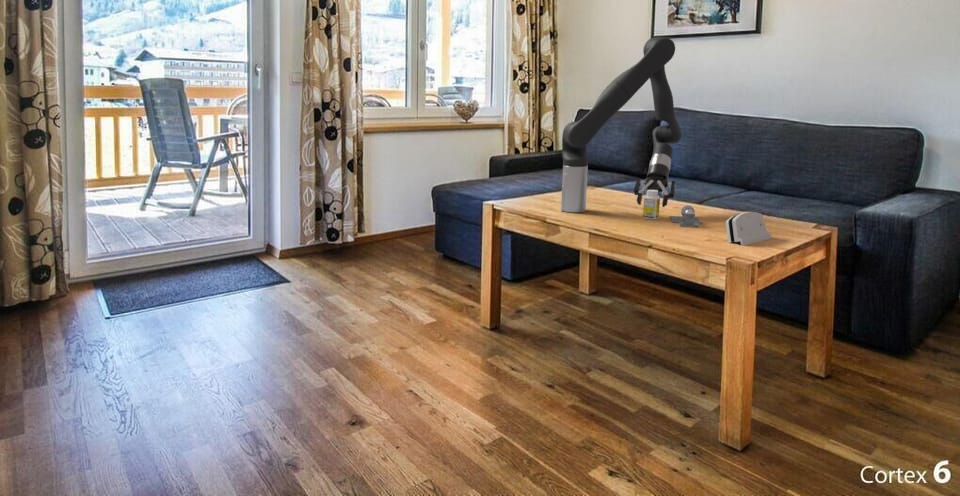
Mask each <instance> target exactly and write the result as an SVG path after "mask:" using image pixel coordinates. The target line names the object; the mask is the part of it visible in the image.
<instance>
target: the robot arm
mask: <svg viewBox="0 0 960 496" xmlns="http://www.w3.org/2000/svg"><path fill="white" fill-rule="evenodd" d="M642 50H643V51H642V52H643V56H642V58H641V59H640V60H639V61H638V62H636V63H635V64H634V65H632V66H631V67H630V68H628V69H626V70H625V71H623V72H622V73H621V74H619V75H618V76H616V77H615V78H614V79H613V80H612V81H611V82H610V83H609V84H608V85H607V86H605V88H604V89H603V90H602V92H601V94H600V95H599V96H598V98H597V99H596V102H595V103H594V105H593V107H592V108H591V109H590V110H589V112H587V113H586V114H585V115H584V116H583V117H582V118H580V120H578V121H570V122H568V123H567V124H566V125H565V126H564V128H563V130H562V131H563V132H562V135H561V136H562V142H561V144H562V145H561V147H562V149H561V157H562V183H561V184H562V185H561V201H560V205H561V207H560V211H561V212H566V213H583V212H586V210H587V209H586V208H587V194H588V193H587V190H588V189H587V188H588V172H589V171H588V169H589V168H588V167H589V158H588V155H587V145H589V143H590V142H591V141H592V139H593V138H594V137H595V136H596V135H597V134H598V132H599V131H600V130H601V129H602V127H603V126H604V125H605V124H606V123H607V122H608V121H609V120H610V119H611V118H612V117H614V116H615V115H616V114H617V113H618V112H619V111H620V110H621V108H623V107H624V106H625V105H626V104H627V103H628V102H629V101H630V99H632V98H633V97H634V95H635V94H636V93H637V92H638V91H639V90H640V89H641V88H642V87H643V85H645V83H647V82H648V80H650V86H651V91H652V97H653V100H652V101H653V108H654V117H655V119H656V120H657V121H662V122H666V123H667V124H668V125H659V126H656V127H654V129H653V130H652V140H653V149H652V150H653V151H652V155H651V159H650V161H649V165H648V170H647V174H646V178H645V180H642V179H641V178H637V179H636V181H635V185H634V188H633V193H634V195H635V196H637V197H636V203H637V204H638V205H639V206H642V205H641V204H642V200H643V197H644V196H645V195H647V190H658V194H659V193H661V194H662V196H663V199H662V203H661V205H662V207H663V208H665V207H666V206H667V205H668V201H669V199H670V198H671V199H674V198H675V194H676V192H675V191H676V181H675V180H672V181H668V178H669V174H670V170H671V165H672V164H671V163H672V157H673V152H674V149H673V147H672V145H673V144H677V143H679V142H680V141H681V139H682V130H681V127H680V125H679V123H678V120H677V118H676V117H677V116H676V114H675V108H674V106H675V105H674V97H673V93H672V90H671V87H670V84H669V82H668V78H667V74H666V69H665V68H666V67H665V65H667V64H668V63H669V62H670V61H671V60H672V59H673V57H674V55H675V52H676V45H675V42H674V40H672V39H670V38H667V37H663V36H662V37H661V36H658V37H657V36H656V37H655V36H654V37H651V38H649V39H647V41H646V42H645V43H644V45H643V49H642ZM667 187H668V188H669V189H670V192H668V191H667V189H666V188H667ZM640 188H641V189H640Z"/></svg>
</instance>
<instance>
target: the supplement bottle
mask: <svg viewBox="0 0 960 496" xmlns="http://www.w3.org/2000/svg"><path fill="white" fill-rule="evenodd" d="M660 202H661V197H660V195H659V193H658V190H647V194H644V195H643V208H642V209H643V210H642V211H643V212H642V217H643V219H645V220H653V221H654V220H655V221H656V220H658V219H659V215H660V204H661V203H660Z"/></svg>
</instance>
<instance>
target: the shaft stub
mask: <svg viewBox="0 0 960 496" xmlns="http://www.w3.org/2000/svg"><path fill="white" fill-rule="evenodd" d="M680 213H681V216H683V217H684V222H679V223H678V224H679V227H682V228H683V227H685V228H699V225H700V224H698V223H694V220H695V217H696V213H695V209H694V207H693V206H692V205H690V204H689V205H688V204H686V205H684V206H683V207H682V208H681V210H680Z"/></svg>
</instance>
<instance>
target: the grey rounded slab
mask: <svg viewBox="0 0 960 496" xmlns="http://www.w3.org/2000/svg"><path fill="white" fill-rule="evenodd" d="M725 228H726V236H727V243H728V244H730V243H739V242H740V246H741V247H742V246H748V245H751V244H756V243H760V242H763V241H764V242H765V241H768V240H771V239H772V234H771V232H769V231H768V230H767V226H766V223H765V219H764V215H763V214H762V213H760V212H757V211H743V212H740V213H736V214H734V215H732V216H730V217H729V218H728V219H727V220H726V221H725Z"/></svg>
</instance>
